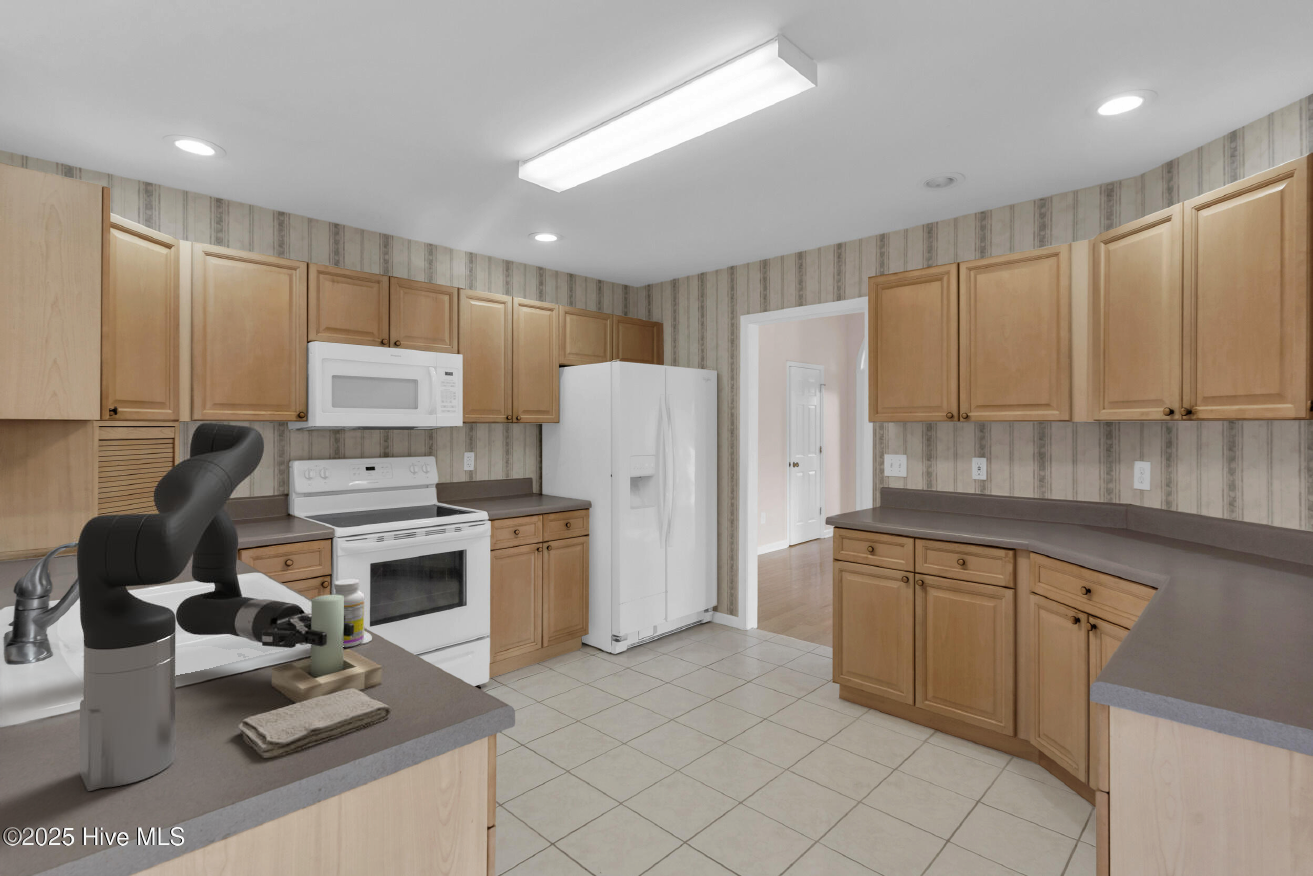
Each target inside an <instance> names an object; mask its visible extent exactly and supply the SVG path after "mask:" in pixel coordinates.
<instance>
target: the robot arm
mask: <svg viewBox="0 0 1313 876" xmlns="http://www.w3.org/2000/svg"><path fill="white" fill-rule="evenodd" d="M189 445H190V447H189V457H188V458H186V459H183V460H182V461H180V462H178V463H177V464H175V465H174V466H173V467H171V469H170V470H169V471H168V472H166V473H165V474H164V476H162V477H161V479H160V480H159V481H158V482H157V484H156V486H155V487H154V491H153V502H154V506H155V508H156V511H157V512H158V513H131V514H130V513H128V514H127V513H125V514H124V513H123V514H102V515H98V516H94V517H93V518H91V519H90V520H88V521H87V522H86V523H85V525H84V526H83V528H82V529H81V532H80V534H79V538H78V542H77V550H76V569H77V571H76V572H77V581H78V591H79V592H78V593H79V594H78V595H79V596H78V597H79V615H80V616H79V617H80V626H81V629H82V632H83V633H82V634H83V699H81V700H80V702H79V775H80V777H81V779H82V782H83V783H84V785H85V787H86V790H87V792H91V791H95V790H98V789H102V788H113V787H118V786H125V785H128V784H133V783H136V782H139V781H142V780H145V779H147V778H150V777H152V776H155V775H157V774H159V773H161V772H163V771H164V770H165V769H167V768H168V767H170V766H171V765H172V763H174V761H175V759H176V622H177V624H178V626H179V627H180V628H181V629H182V630H183V631H184V632H186V633H188V634H191V635H197V636H198V635H199V636H216V635H217V636H221V635H230V636H234V637H239V638H245V639H247V640H249V641H252V642H256V643H260V644H261V645H262V646H263V647H274V648H275V647H276V648H286V649H287V648H288V649H293V648H296V645H300V646H306V645H310V646H311V645H316V646H321V647H322V646H325V645H326V644H327V634H326V633H325V632H320V631H314V630H311V612H310V613H306V612H305V611H304V609H303V608H302V607H301V606H300V605H298V604H297V603H291V602H286V601H282V600H280V601H279V600H273V599H267V598H265V599H259V598H254V597H248V596H243V594H242V591H241V586H240V583H239V582H240V581H239V577H238V573H237V572H238V571H237V559H238V550H239V535H238V531H237V528H236V526H235V524H234V522H233V520H232V519H231V517H230V515H229V514H228V512H227V510H226V509H225V507H224V506H225V505H226V503H227V502H228V501H229V499H230V498H231V496H232V494H233V493H234V491H235V490H236V489H237V487H239V485H241V484H242V483H243V481H245V480H246V479H247V478H248V477H249V476H251V475H252V474H253V473H254V472H255V471H256V469H257V468H258V466H259V465H260V463H261V461H262V459H263V455H264V451H265V441H264V437H263V436H262V434H261V432H260V431H259V430H258V429H257V428H254V427H251V426H247V425H246V426H245V425H237V424H226V423H215V422H213V423H211V422H202V423H200V424H198V425H197V426H196V428H195V429H194V431H193V433H192V436H191V440H190V444H189ZM191 558H192V562H191V563H192V564H191V576H192V579H193V580H195V582H198V583H204V584H213V585H214V590H212V591H207V592H203V593H199V594H194V595H192V596H189V597H187V598H185V599H184V600H183V601H181V602H180V603H179V605H178V607H177V609H176V612H174V611H173V609H171V608H169V607H166V606H164V605H159V604H157V603H156V604H155V603H151V602H148V601H145V600H144V599H143V600H142V599H140V598H139V597H137V596H135V595H134V594H132V593H130V591H128V589H127V587H135V586H140V587H141V586H152V585H153V586H154V585H161V584H166V583H169V582H171V581H173V580H175V579H176V578H178V577H179V576H180V575H181V574H182V573H183V571H185V569H186V567H187V565H188V564H189V562H190V560H191ZM345 619H346V616H345V615H344V636H348V637H350V636H352V635H353V634H354V624H353V623H348V622H345Z"/></svg>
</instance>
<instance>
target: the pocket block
mask: <svg viewBox="0 0 1313 876" xmlns="http://www.w3.org/2000/svg"><path fill="white" fill-rule="evenodd" d="M382 675H383V674H382V665H380V664H377V663H376V662H374V661H372V660H371V659H369V658H367V657H365V656H362V655H361V654H360V653H357V652H355V651H354V650H351V649H349V648H346V649H345V648H344V649H343V671H339V672H336V673H332V674H328V675H325V676H321V677H318V678H313V677H311V657H310V658H306V659H302V660H298V661H293V662H290V663H285V664H282V665H278V666H274V667H271V686H272V687H274V688H275V689H276V690H278V691H279V692H280V691H281V693H282V694H283V695H284V694H285V695H284V696H286V697H287V698H288V699H290V700H291V701H293V702H294V704H296V703H300V702H303V701H307V700H309V699H312V698H316V697H320V696H325V695H330V694H333V693H336V692H339V691H342V690H346V689H352V688H354V689H356V690H358V691H362V690H365V689H368V688H371V687H375V686H377V685H381V684H382V679H383V678H382Z"/></svg>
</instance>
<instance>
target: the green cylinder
mask: <svg viewBox="0 0 1313 876" xmlns="http://www.w3.org/2000/svg"><path fill="white" fill-rule="evenodd" d="M310 614H311V630H314V631H320V632H325V633H326V634H327V644H326V645H325V646H322V647H321V646H316V645H311V644H310V658H311V677H313V678H318V677H321V676H325V675H328V674H332V673H336V672H339V671H343V650H344V648H343V641H344V596H342V595H333V594H325V595H320V596H315V597H314V598H312V599H311V612H310Z"/></svg>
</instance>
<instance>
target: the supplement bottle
mask: <svg viewBox="0 0 1313 876" xmlns="http://www.w3.org/2000/svg"><path fill="white" fill-rule="evenodd" d="M333 584H334V587H333V588H334V592H335V593H333V594H332V595H342V596H344V615H345V616H346V619H345V622H348V623H353V624H354V634H353V635H352V636H350V637H348V636H344V641H343V646H344V647H345V648H350V647H351V648H352V647H355V646H358V645H360V644H361V643H363V642H364V640H365V595H364V593H363V592H361V591H360V590H359V588H360V585H361V584H360V580H359V579H357V578H346V579H339V580H336V581H335V582H334V583H333Z"/></svg>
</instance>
